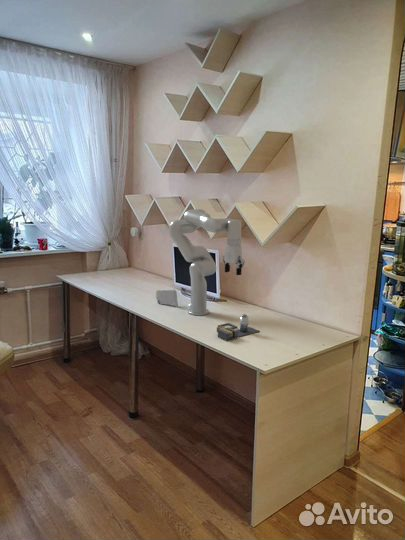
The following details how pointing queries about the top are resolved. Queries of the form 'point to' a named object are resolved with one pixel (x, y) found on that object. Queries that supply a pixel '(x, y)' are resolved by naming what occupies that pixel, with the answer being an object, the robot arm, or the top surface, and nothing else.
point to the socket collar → (229, 325)
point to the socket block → (227, 334)
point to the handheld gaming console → (167, 297)
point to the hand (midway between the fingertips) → (232, 273)
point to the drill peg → (244, 323)
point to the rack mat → (250, 331)
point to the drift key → (225, 330)
